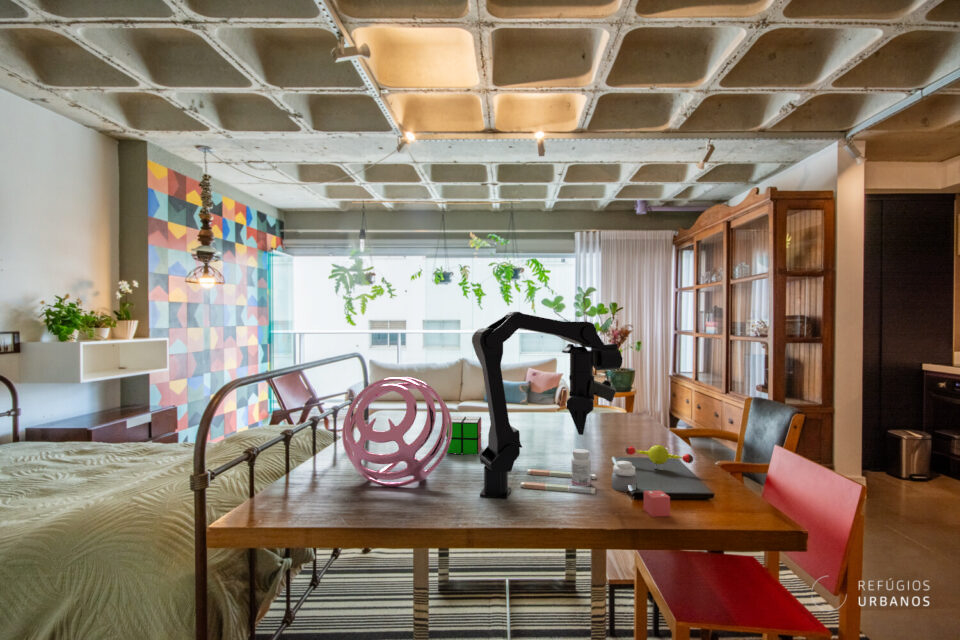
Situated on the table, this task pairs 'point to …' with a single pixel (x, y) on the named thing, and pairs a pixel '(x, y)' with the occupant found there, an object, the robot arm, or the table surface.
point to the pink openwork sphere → (395, 433)
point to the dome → (624, 468)
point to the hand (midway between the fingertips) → (581, 432)
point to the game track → (617, 483)
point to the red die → (656, 503)
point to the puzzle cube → (465, 435)
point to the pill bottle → (581, 468)
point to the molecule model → (659, 454)
